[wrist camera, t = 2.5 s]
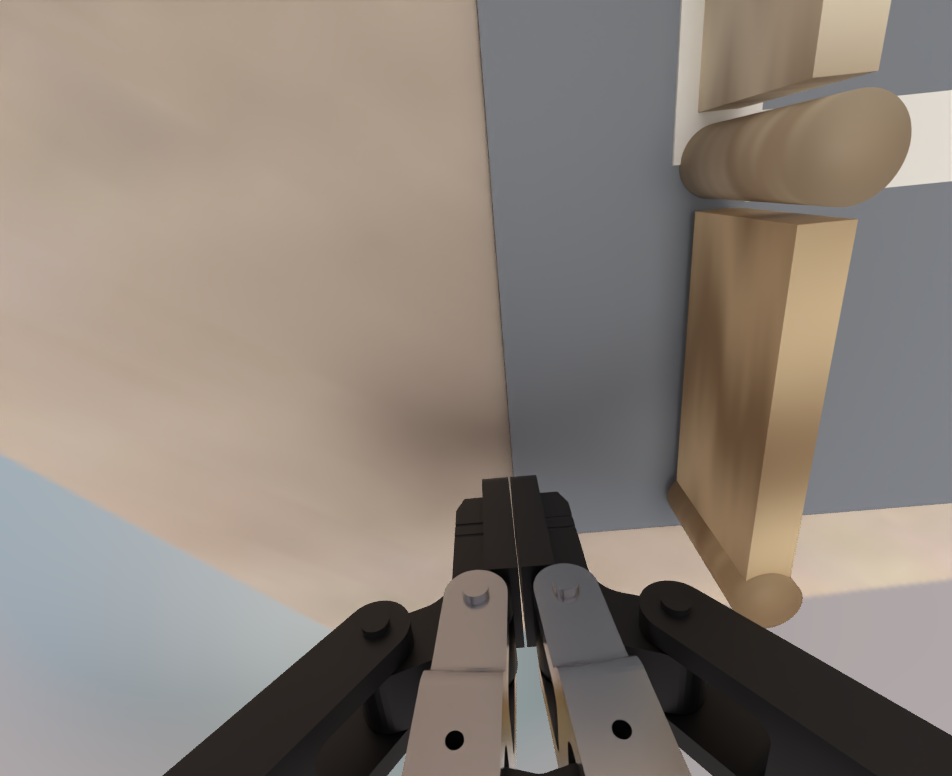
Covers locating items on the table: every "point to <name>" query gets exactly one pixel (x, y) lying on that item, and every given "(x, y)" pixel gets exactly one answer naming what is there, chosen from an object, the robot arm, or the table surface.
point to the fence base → (802, 124)
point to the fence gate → (756, 393)
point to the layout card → (670, 258)
